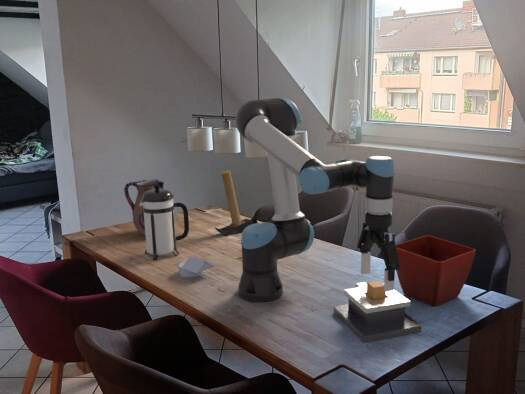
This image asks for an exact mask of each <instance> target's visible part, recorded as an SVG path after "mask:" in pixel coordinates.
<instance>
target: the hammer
mask: <svg viewBox="0 0 525 394" xmlns="http://www.w3.org/2000/svg"><path fill="white" fill-rule="evenodd" d="M220 175H221V178H222V182H223V187H224V191H225V196H226V200H227V205H228V209H229V214H230V219H231V223H230V224H229V225H226V226H224V227H221V228H217V227H215V226H214V229H215V230H216V231H217V232H218V233H219V234H221V235H223V236H226V237H229V236H233V235H237V234H242V232H243V230H244V229H245V228H246V227H248V226H249V225H252V224H255V223H259V222H258V220H257V218H256V217H255V216H254V217H252V218H251V219H250V218H244V219H241V216H240V215H241V214H240V211H239V204H238V201H237V196H236V192H235V186H234V181H233V178H232V172H231V170H225V171H221V174H220Z"/></svg>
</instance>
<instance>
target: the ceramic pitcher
mask: <svg viewBox="0 0 525 394" xmlns="http://www.w3.org/2000/svg"><path fill="white" fill-rule="evenodd" d="M155 184H158V185H159V186H160V188H159V189H164V185H165V182H164V181H162V180H161V181H160V180H159V179H157V178H153V179H141V180H138V181H129V182H127V183H126V185H125V186H124V190H123V192H124V196H125V199H126V201H127V203H128V205H129V206H130V208H131V211H132V212H131V213H132V222H133V225H134V228H135V229H136V231H138V232H139V233H140V234H141V235H144V236H146V235H145V222H144V212H143V206H139V205H140V202H141V200H142V197H143V194H144V193H145V192H146V191H149V190H153V189H155V188H154V185H155ZM129 187H135V188H136V190H137V195H136V198H135V203H134V202H133V199H132V198H131V196H130V192H129Z"/></svg>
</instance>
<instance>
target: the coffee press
mask: <svg viewBox="0 0 525 394" xmlns="http://www.w3.org/2000/svg"><path fill="white" fill-rule="evenodd" d="M154 188H155V189H153V190H149V191H146V192H145V193H144V194H143V197H142V200H141V202H140V205H139V206H143V212H144V222H145V235H144V236H145V242H146V243H145V244H146V248H145V250H144V254H145V255H148V254H150V255H152V261H157V260H158V257H159V256H165V255H170V254H173V255H174V256H175V257H178V256H179V255H180V252H179V251H178V249H177V242H178V241H181V240H184V239H185V238H186V237H187V236H188V235H189V233H190V231H189V230H190V225H189V224H190V223H189V221H190V220H189V210H188V208H187V206H186V205H185V204H184V203H182V202H174V197H175V196H174V194H173V192H171V190H168V189H165V188H163V189H159V188H160V186H159V185H158V184H155V185H154ZM175 208H181V209H182V212H183V227H184V231H183V233H182V234H180V235H176V228H175Z"/></svg>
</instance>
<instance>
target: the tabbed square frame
mask: <svg viewBox="0 0 525 394" xmlns="http://www.w3.org/2000/svg"><path fill="white" fill-rule="evenodd" d="M382 283H383V284H384V282H382ZM343 294H344V296H345V297H346V298H347V299H348V303H345V304H340V305H334V306H333V313H334V314H335V315H336V316H337V317H338V318H339V319H340V321H342V322H343V323H344V324H345V326H347V327H348V328H349V329H350V330H351V331H352V332H353V333H354V334H355V335H356V336H357V337H358V338H359V339H360V340H361V341H362V342H363V343H370V342H374V341H375V342H376V341H381V340H382V341H383V340H386V339H391V338H396V337H401V336H403V337H404V336H407V335H412V334H417V333H422V324H421V323H419V322H418V321H416V320H415V319H414V318H413V317H411V316H410V315H409V314H407V313H406V307H407V308H408V307H411V300H409V299H408V298H407V297H405V296H404V295H403V294H401V293H400V292H398V291H397V290H395V289H394V290H393V291H387V292H386V298H384V299H378V300H371V299H370V298H369V297H368V296H367V282H365V281H363V282H356V283H355V287H351V288H344V289H343Z"/></svg>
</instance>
